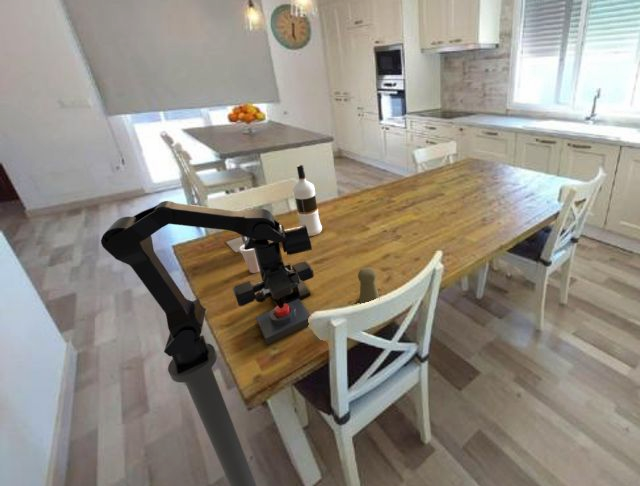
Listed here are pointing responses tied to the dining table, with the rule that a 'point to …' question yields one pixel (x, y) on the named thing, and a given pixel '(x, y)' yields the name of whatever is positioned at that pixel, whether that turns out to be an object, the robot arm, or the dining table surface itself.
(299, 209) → the vodka
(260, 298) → the switch lever
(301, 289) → the switch bracket
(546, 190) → the dining table surface
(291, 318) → the switch block
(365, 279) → the grey brown pawn
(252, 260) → the smoothie
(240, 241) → the platform
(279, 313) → the switch button
